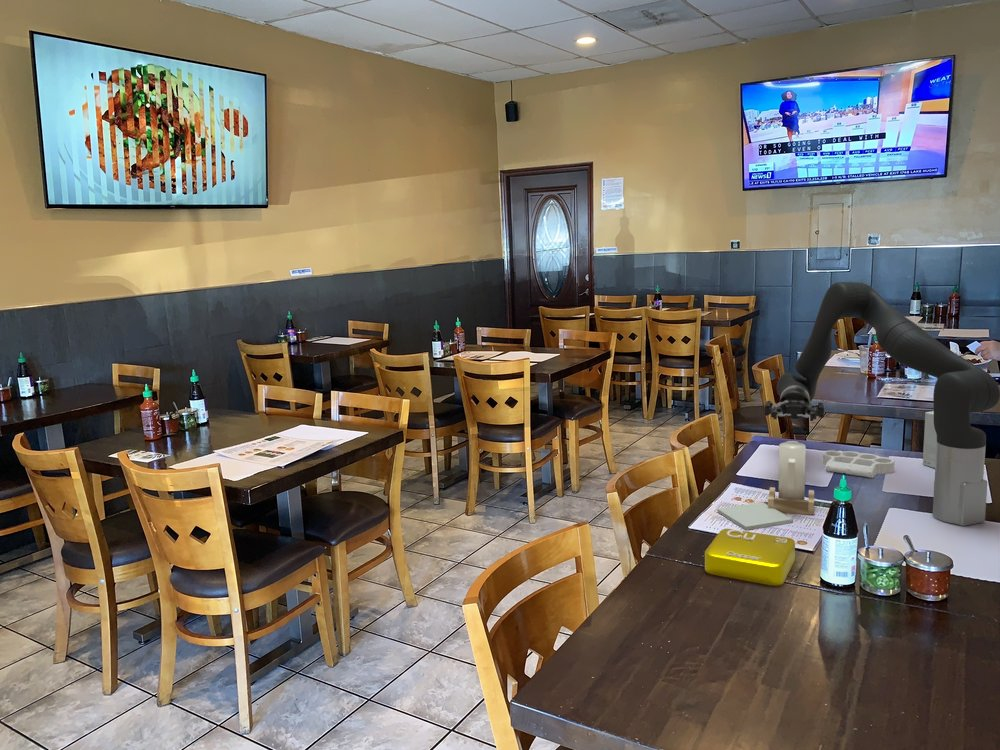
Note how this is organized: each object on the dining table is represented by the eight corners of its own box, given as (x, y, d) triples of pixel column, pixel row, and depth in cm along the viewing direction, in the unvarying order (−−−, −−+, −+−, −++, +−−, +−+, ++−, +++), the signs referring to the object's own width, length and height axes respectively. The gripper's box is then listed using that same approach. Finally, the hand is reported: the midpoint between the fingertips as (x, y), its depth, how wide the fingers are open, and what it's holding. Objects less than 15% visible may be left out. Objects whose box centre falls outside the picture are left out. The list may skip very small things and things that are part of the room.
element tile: (702, 574, 148) (701, 551, 147) (722, 545, 161) (722, 524, 160) (781, 589, 140) (782, 565, 140) (796, 558, 153) (796, 536, 152)
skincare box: (939, 470, 199) (942, 416, 196) (921, 464, 204) (923, 411, 202) (964, 466, 201) (967, 412, 198) (945, 460, 207) (948, 407, 204)
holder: (769, 498, 185) (770, 487, 185) (813, 502, 181) (814, 490, 181) (768, 511, 177) (768, 499, 177) (813, 514, 174) (814, 502, 173)
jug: (779, 499, 184) (779, 440, 182) (804, 501, 182) (805, 441, 179) (777, 513, 176) (778, 451, 173) (804, 515, 174) (805, 453, 171)
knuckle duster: (813, 472, 204) (829, 458, 215) (885, 483, 193) (898, 467, 204) (813, 460, 204) (829, 446, 215) (885, 470, 192) (899, 455, 203)
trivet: (792, 522, 170) (792, 518, 170) (746, 530, 167) (746, 526, 167) (761, 504, 182) (761, 501, 181) (717, 512, 179) (717, 508, 178)
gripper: (766, 386, 203) (763, 400, 189) (824, 388, 198) (825, 402, 183) (766, 413, 205) (762, 429, 190) (823, 416, 199) (824, 432, 185)
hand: (793, 416), depth 187 cm, fingers open, 8 cm apart
